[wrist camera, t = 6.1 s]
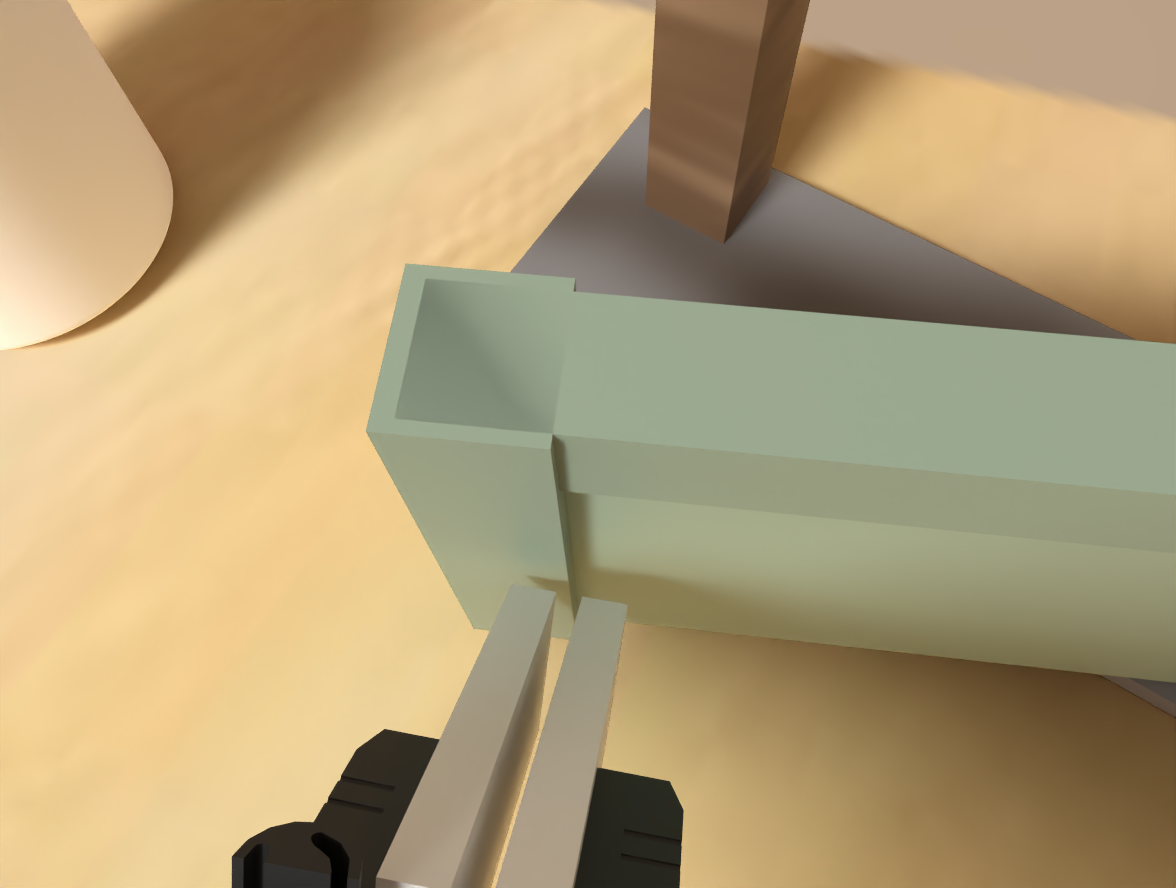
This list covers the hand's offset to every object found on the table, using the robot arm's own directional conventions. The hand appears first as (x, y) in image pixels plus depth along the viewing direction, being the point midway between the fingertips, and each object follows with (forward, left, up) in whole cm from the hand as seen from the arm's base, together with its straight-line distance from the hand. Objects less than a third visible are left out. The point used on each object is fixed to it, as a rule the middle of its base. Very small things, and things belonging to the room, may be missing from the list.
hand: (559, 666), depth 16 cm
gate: (-3, -8, -4) cm, 10 cm away
